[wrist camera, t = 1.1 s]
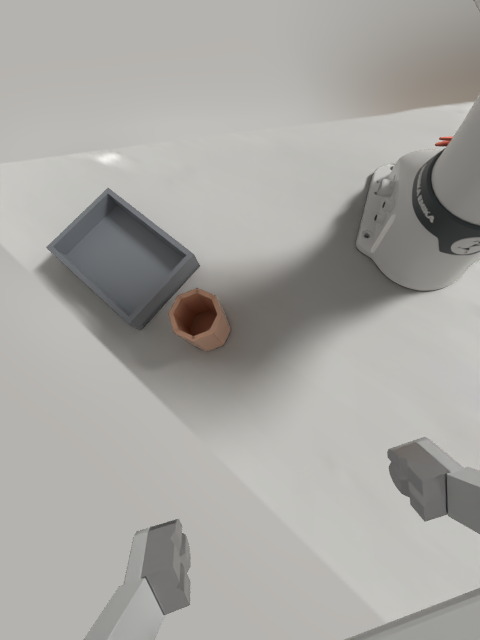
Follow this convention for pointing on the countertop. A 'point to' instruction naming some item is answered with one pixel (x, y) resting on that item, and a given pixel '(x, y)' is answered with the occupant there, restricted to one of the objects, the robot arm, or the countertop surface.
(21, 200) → the countertop surface
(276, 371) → the countertop surface
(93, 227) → the tray
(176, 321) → the cup
